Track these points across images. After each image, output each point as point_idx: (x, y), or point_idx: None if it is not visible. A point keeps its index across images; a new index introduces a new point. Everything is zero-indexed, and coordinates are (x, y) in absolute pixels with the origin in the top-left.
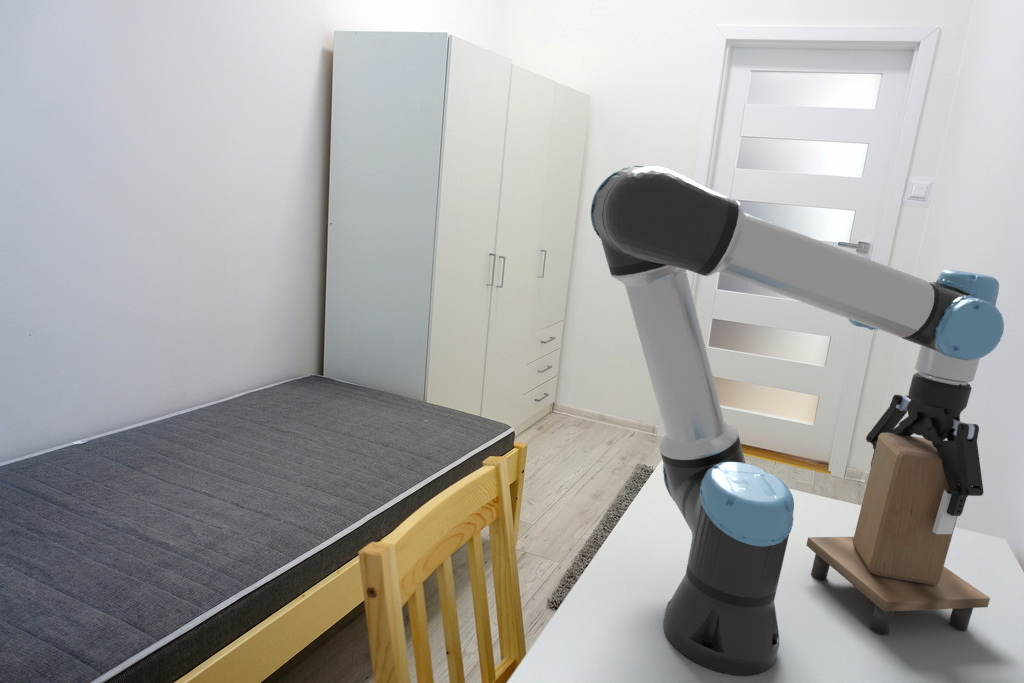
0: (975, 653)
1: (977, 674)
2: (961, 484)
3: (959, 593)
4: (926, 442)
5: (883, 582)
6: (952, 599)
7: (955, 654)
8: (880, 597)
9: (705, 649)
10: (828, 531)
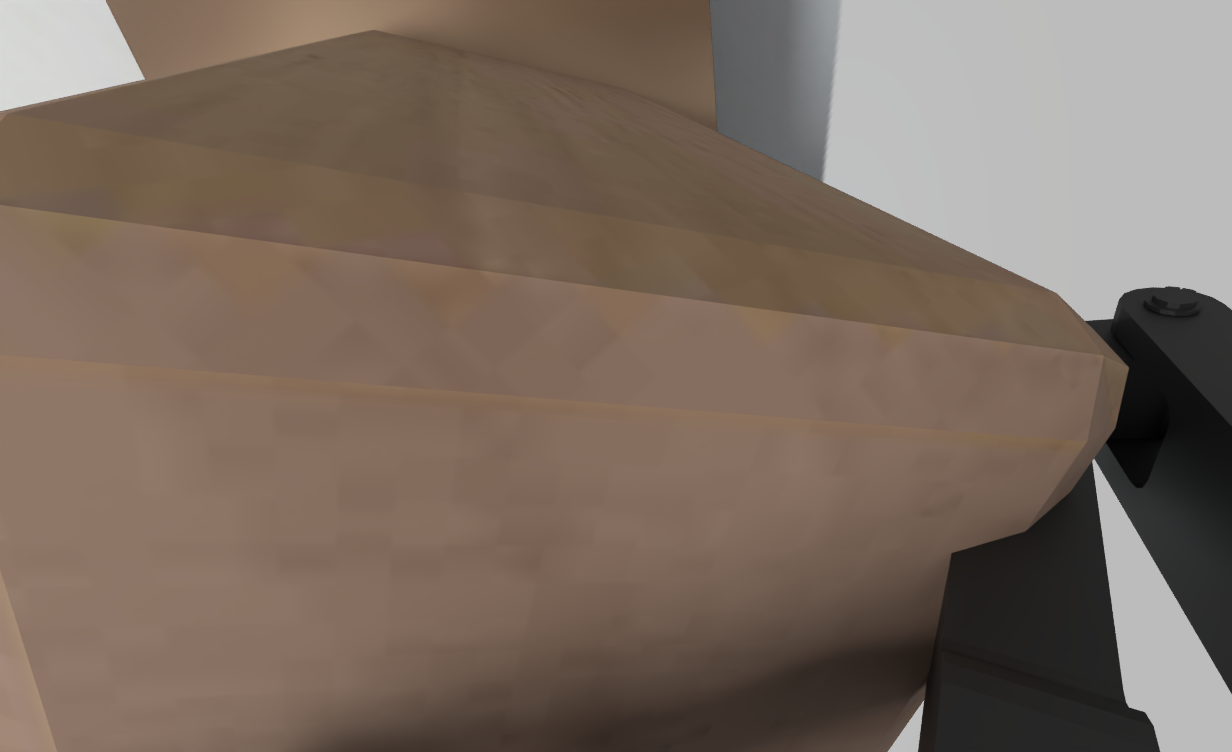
0: (750, 9)
1: (832, 85)
2: (1108, 473)
3: (671, 14)
4: (358, 690)
5: None
6: (714, 89)
7: (751, 93)
8: None
9: None
10: None
